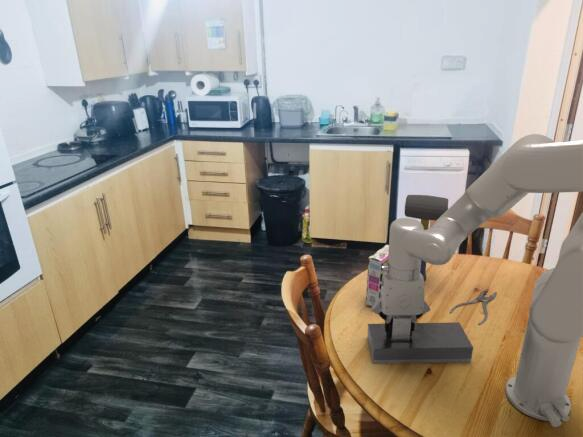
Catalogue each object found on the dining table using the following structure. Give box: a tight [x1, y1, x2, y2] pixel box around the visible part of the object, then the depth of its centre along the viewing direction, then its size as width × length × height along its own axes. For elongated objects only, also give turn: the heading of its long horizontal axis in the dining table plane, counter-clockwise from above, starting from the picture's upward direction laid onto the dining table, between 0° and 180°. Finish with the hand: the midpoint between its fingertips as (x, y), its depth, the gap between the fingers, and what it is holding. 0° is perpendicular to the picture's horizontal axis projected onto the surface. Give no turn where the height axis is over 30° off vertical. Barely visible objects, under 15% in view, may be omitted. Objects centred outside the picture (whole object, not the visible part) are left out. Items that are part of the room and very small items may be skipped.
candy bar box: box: [365, 244, 389, 309], centre depth 130 cm, size 11×5×16 cm, turn 141°
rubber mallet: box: [404, 194, 449, 283], centre depth 136 cm, size 12×8×30 cm, turn 68°
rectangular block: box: [366, 321, 474, 364], centre depth 111 cm, size 10×24×4 cm, turn 89°
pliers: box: [449, 288, 498, 326], centre depth 130 cm, size 10×1×20 cm
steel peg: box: [388, 315, 411, 343], centre depth 109 cm, size 4×4×9 cm
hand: (399, 332), depth 110 cm, fingers closed on steel peg, 4 cm apart
